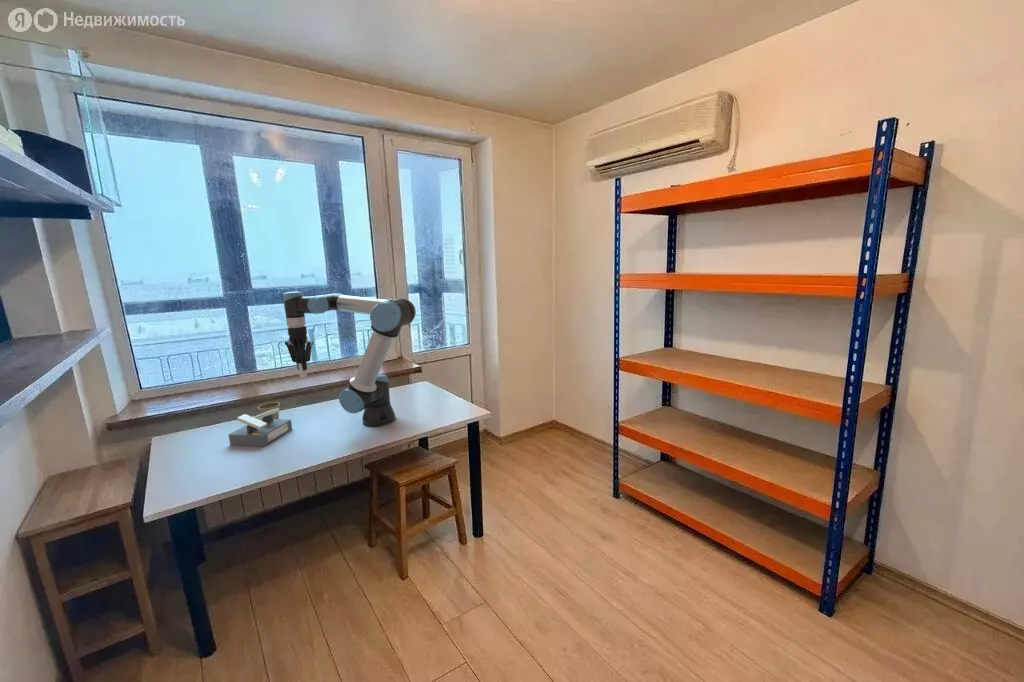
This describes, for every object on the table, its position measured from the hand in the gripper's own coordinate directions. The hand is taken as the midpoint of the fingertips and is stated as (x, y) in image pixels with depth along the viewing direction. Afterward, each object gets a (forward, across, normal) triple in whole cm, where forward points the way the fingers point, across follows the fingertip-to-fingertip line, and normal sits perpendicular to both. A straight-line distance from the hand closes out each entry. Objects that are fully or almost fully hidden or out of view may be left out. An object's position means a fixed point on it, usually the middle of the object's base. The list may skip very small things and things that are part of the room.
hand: (303, 376), depth 189 cm
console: (+24, +14, +14) cm, 31 cm away
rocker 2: (+16, +14, +9) cm, 23 cm away
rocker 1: (+16, +14, +18) cm, 28 cm away
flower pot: (+25, +23, -3) cm, 34 cm away
